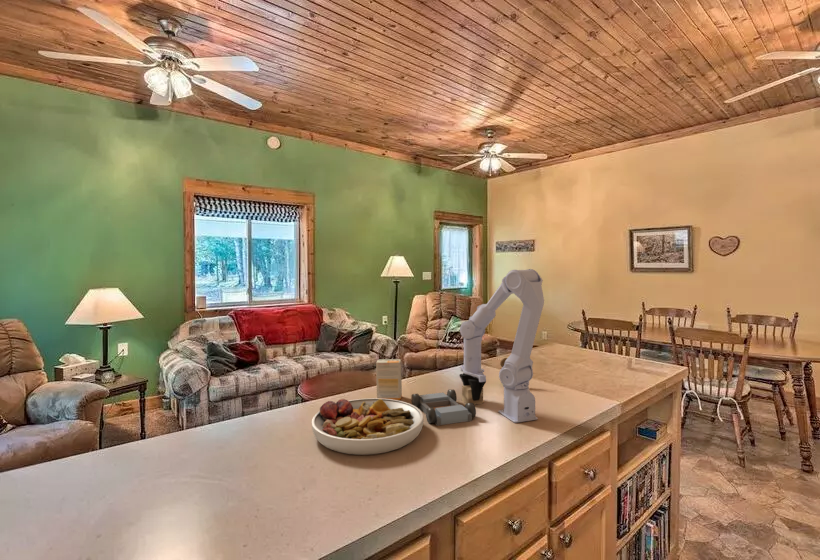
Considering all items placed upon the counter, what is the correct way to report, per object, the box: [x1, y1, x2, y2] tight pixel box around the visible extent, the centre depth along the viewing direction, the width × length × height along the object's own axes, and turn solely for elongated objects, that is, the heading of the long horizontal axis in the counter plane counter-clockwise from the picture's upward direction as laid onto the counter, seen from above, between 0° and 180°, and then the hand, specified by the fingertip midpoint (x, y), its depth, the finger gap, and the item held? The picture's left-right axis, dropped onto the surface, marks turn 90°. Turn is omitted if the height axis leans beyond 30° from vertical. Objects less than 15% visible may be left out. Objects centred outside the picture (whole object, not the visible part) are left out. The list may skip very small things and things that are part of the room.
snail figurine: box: [499, 357, 508, 370], centre depth 153 cm, size 5×6×12 cm
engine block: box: [461, 385, 484, 405], centre depth 136 cm, size 4×6×5 cm
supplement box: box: [375, 358, 403, 401], centre depth 140 cm, size 8×5×13 cm, turn 84°
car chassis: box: [410, 389, 477, 427], centre depth 127 cm, size 19×14×4 cm
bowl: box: [311, 397, 424, 456], centre depth 111 cm, size 30×30×8 cm
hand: (472, 397), depth 136 cm, fingers closed on engine block, 4 cm apart
